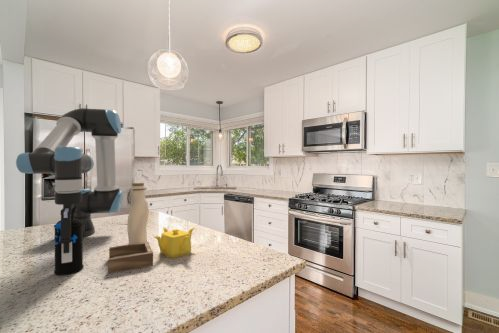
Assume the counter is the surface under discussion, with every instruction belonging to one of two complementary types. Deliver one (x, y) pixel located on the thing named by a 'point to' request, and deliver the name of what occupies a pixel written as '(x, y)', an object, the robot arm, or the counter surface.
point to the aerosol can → (76, 249)
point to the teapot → (175, 242)
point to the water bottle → (137, 214)
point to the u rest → (130, 257)
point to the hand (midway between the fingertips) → (69, 257)
